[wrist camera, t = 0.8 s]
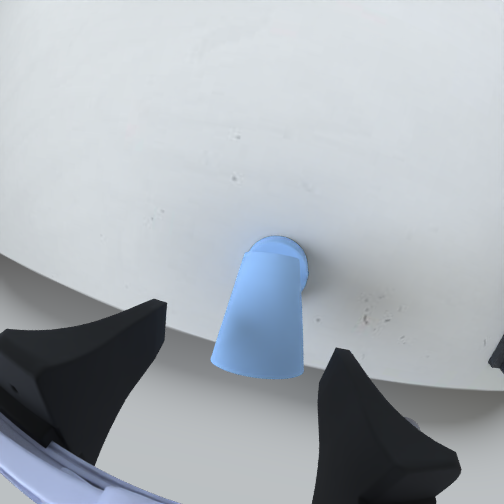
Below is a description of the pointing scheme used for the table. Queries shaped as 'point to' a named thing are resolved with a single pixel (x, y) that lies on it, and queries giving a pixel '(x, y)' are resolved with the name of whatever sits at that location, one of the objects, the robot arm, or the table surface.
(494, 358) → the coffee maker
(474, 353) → the table surface
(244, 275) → the spotlight
